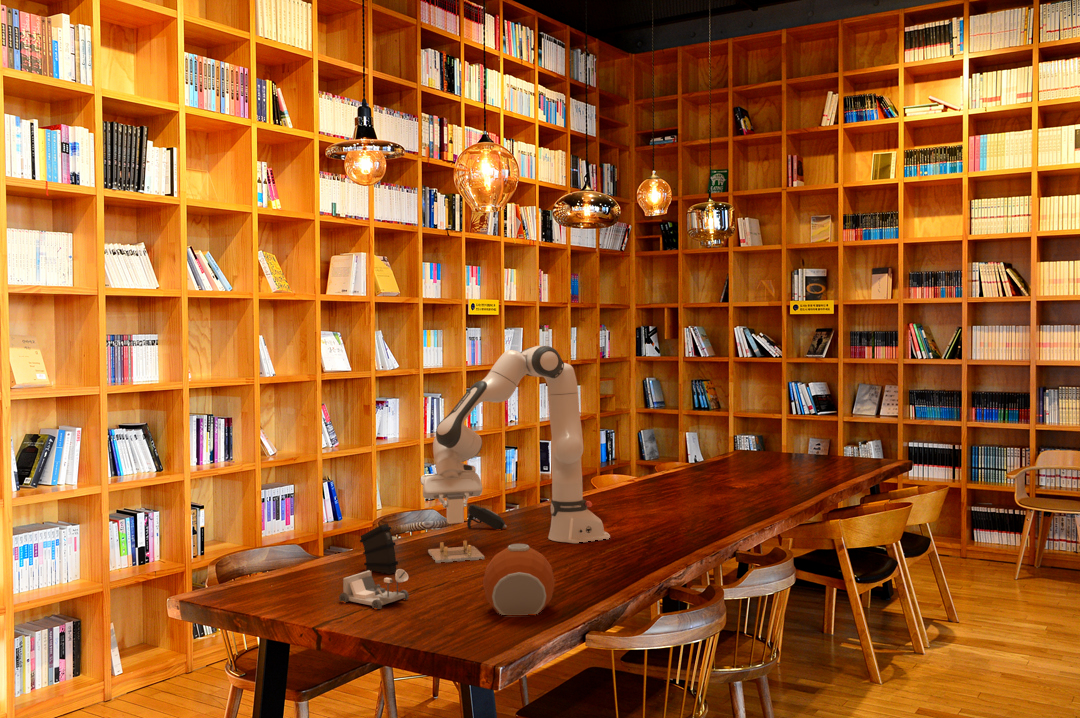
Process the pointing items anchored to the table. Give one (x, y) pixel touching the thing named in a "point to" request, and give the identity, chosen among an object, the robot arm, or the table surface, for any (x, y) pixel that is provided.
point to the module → (455, 508)
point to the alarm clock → (518, 581)
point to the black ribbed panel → (379, 550)
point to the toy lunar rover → (372, 589)
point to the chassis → (455, 553)
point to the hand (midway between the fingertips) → (455, 506)
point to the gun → (485, 517)
